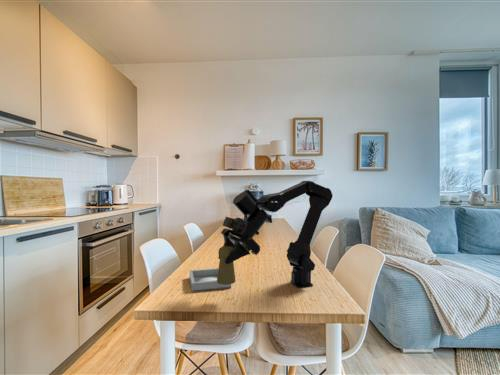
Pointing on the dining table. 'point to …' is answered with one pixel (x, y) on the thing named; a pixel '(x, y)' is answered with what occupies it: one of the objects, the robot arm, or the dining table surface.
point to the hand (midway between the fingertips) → (222, 261)
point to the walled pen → (205, 280)
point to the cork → (225, 267)
